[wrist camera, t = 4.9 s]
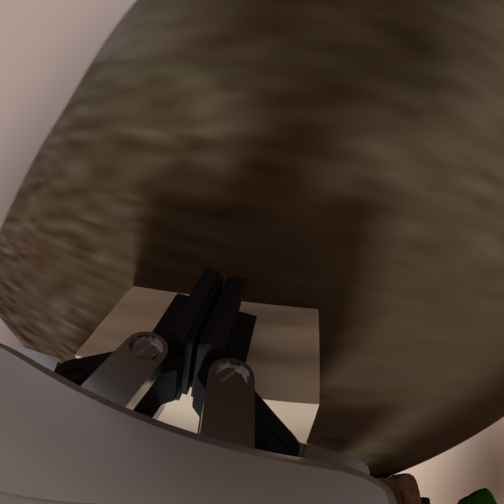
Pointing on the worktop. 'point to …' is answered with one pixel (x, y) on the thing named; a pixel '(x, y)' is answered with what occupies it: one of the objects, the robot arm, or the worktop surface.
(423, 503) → the mug
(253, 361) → the beech block
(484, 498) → the bell pepper
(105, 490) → the robot arm
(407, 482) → the brown rounded tall lump
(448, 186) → the worktop surface
